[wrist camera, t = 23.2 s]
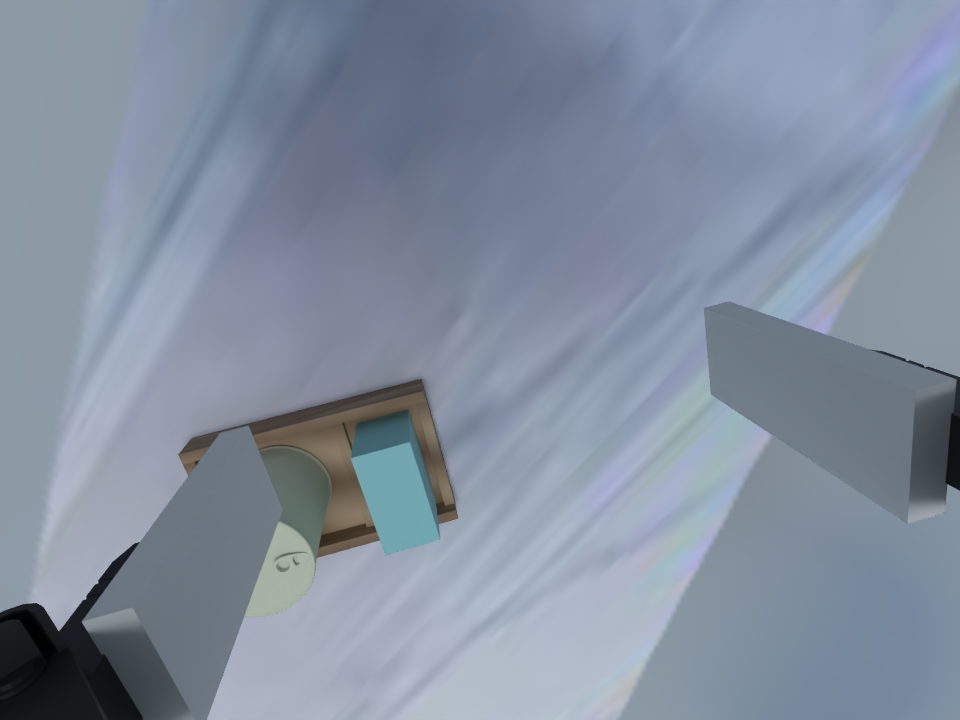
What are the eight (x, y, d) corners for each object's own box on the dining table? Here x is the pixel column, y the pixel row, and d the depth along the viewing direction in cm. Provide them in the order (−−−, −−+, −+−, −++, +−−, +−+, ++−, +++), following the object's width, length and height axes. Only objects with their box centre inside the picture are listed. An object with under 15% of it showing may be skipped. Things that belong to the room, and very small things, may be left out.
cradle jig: (191, 438, 50) (178, 454, 47) (421, 379, 51) (422, 391, 48) (245, 558, 54) (236, 579, 51) (454, 500, 56) (458, 518, 53)
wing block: (357, 423, 50) (350, 458, 44) (408, 408, 51) (409, 441, 44) (387, 510, 54) (385, 555, 47) (435, 496, 54) (440, 539, 47)
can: (342, 516, 53) (329, 605, 42) (249, 539, 52) (209, 636, 41) (317, 435, 50) (295, 507, 39) (217, 457, 49) (165, 538, 38)
